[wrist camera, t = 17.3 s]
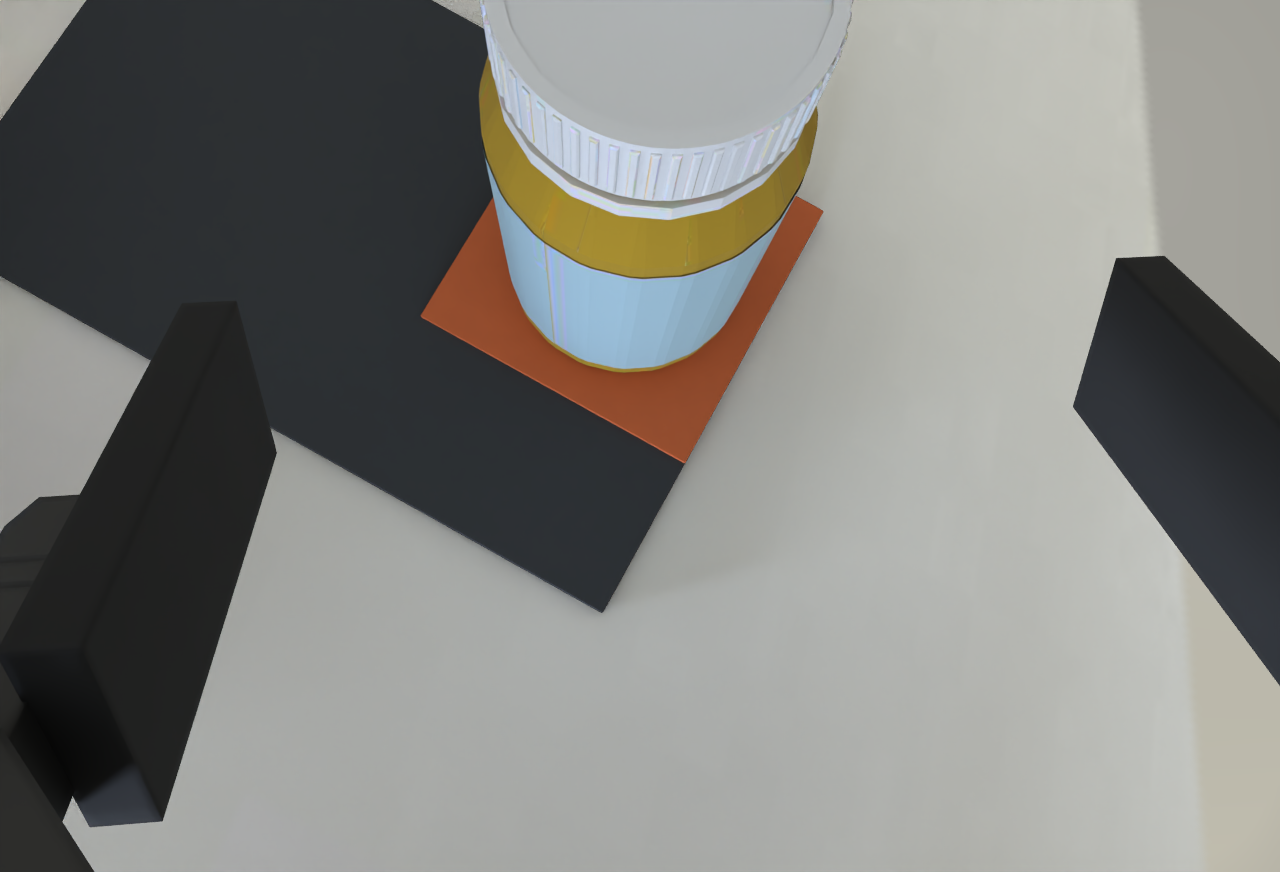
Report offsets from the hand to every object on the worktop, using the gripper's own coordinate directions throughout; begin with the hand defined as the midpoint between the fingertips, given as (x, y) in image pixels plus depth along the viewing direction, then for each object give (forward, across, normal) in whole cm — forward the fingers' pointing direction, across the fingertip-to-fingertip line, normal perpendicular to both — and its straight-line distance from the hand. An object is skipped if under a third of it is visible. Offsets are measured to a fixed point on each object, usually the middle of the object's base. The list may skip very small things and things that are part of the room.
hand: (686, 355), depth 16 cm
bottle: (+15, 0, -6) cm, 16 cm away
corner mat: (+17, -7, -5) cm, 19 cm away
